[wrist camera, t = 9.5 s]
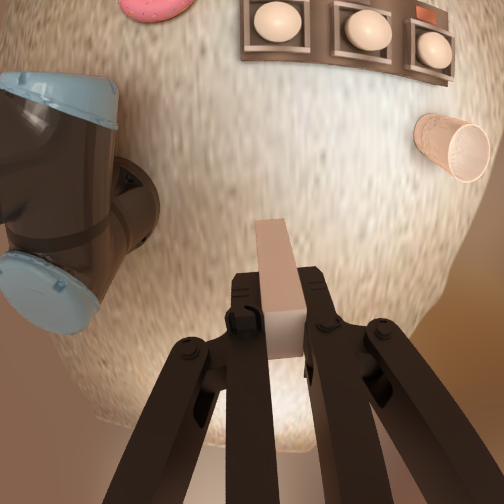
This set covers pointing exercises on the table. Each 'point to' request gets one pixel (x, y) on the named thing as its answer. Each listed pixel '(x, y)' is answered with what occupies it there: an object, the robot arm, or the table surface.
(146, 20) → the doughnut
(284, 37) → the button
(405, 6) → the panel
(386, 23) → the button mid
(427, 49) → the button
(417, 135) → the tan paper cup
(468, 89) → the table surface
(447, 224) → the table surface
